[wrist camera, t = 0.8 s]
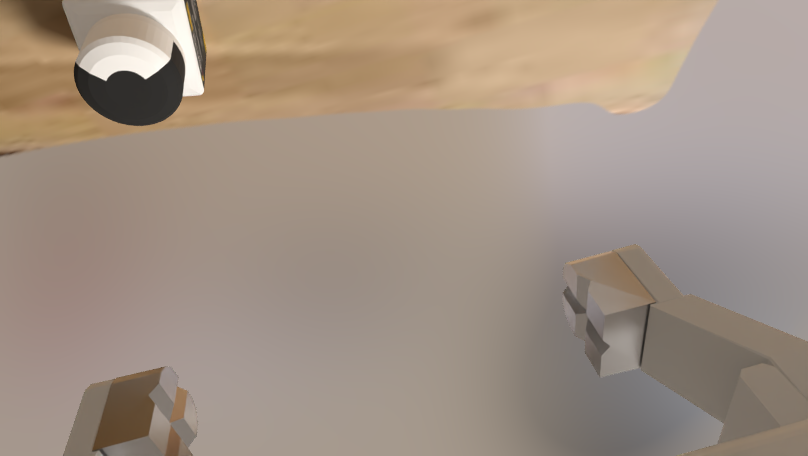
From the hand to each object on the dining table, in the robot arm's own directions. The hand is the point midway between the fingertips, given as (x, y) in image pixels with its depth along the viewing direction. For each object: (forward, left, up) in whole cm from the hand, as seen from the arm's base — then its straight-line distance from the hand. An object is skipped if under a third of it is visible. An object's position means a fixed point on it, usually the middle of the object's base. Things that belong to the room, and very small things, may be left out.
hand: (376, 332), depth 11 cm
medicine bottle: (+6, -11, -38) cm, 41 cm away
